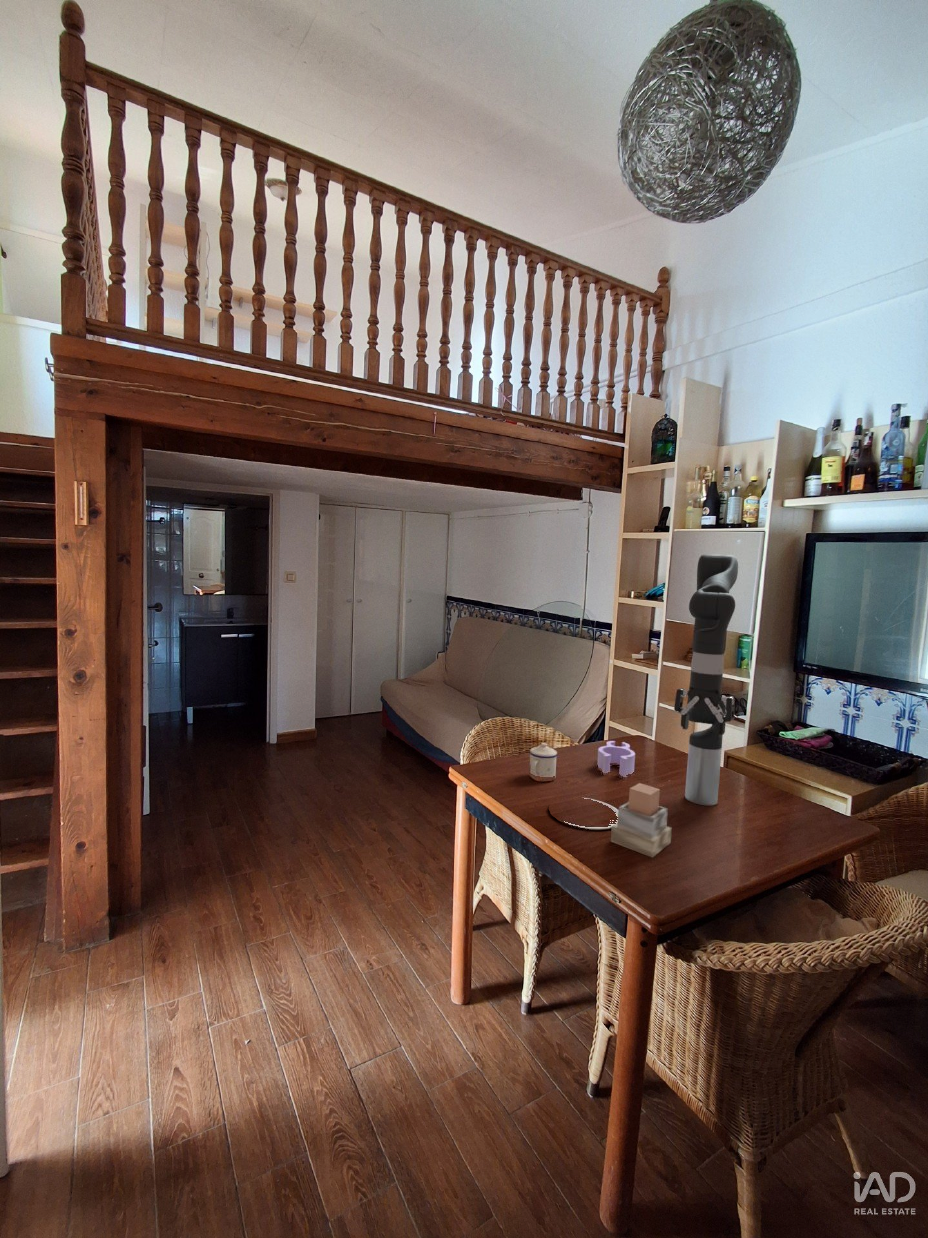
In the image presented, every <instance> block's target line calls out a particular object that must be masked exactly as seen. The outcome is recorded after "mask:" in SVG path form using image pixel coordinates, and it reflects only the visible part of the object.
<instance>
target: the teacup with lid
mask: <svg viewBox="0 0 928 1238" xmlns="http://www.w3.org/2000/svg"><path fill="white" fill-rule="evenodd" d="M557 756H558V751H557V750H556V749H553V748H551V747H550V746H548V744H547V742H542V743H540V745H538V746H534V747H532V748H531V749H530V750H529V766H528V767H529V770H528V772H529V771H530V773H531V774H533V775H535V776H540V777H553V776H555V777H556V771H557V770H556V767H557Z"/></svg>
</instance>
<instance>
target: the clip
mask: <svg viewBox="0 0 928 1238" xmlns="http://www.w3.org/2000/svg"><path fill="white" fill-rule="evenodd" d="M630 748H631V745H630V744H629V743H626V742H625V741H623V742H621V746H618V745H617V746H616V741H615V740H609V741H606V745H603V746H599V748H598V749H597V764H596V766H597V765H598V767H599V768H601V769H602V772H603V773H608V772H611V765H610V763H617V764H619V765H620V766H619V769H618V771H619V772H618V775H619V774H620V775H621V776H623V777H626V778H627V776H626V775H628V774H632V773H633V772H634V773H635V761H636V752H635V751H634V750H632V749H630ZM602 772H601V773H602Z"/></svg>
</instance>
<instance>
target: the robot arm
mask: <svg viewBox="0 0 928 1238" xmlns="http://www.w3.org/2000/svg"><path fill="white" fill-rule="evenodd" d="M697 561H698V562H697V566H696V567H697V569H696V591H695V592H694V593H693V594H692V596H691V597H690V600H689V604H688V610H689V613H690V614H691V616H692V617H693V618H694V625H693V635H692V647H691V649H692V650H691V651H692V654H691V655H692V656H691V664H690V678H689V679H690V680H689V687H688V689H685V688H682V687H681V688H678V689H676V693H675V698H674V699H675V700H674V708H673V710H674V711H675V712H678V713H679V714H680V715H681V717H680V726H681V728H682V730H684V731H686V730H688V729H689V724H690V723H689V722H691V723H692V722H693V723H700V724H707V725H711V726H710V727H708V728H705V729H704V730H699V731H695V732H694V731H693V732H692V733H690V735H689V739H688V743H689V744H688V755H687V768H686V777H685V778H686V779H685V791H684V797H685V799H686V800H687V801H689V802H691V803H694V804H697V805H701V806H714V805H717V804H718V799H719V798H718V797H719V787H720V786H719V785H720V774H721V761H722V760H721V759H722V748H723V735H725V733H726V723H727V722H732V721H734V720H735V699H736V698H735V697H734V696H724V695H722V690H723V689H722V687H723V686H722V685H723V675H724V673H723V672H724V661H725V660H724V655H725V653H726V648H727V635H728V633H727V631H728V627H729V624H730V622H731V620H732V617H733V615H734V612H735V609H736V600H735V598H734V596H732V594H730V591H731V589H732V588H733V586H734V585H735V584H736V582H737V579H738V572H739V562H738V559H737V557H736V556H734V555H731V554H702V555H700V557H699V558H698V560H697ZM686 697H687V700H686V705H685V707H683V704H684V700H685V699H684V698H686Z"/></svg>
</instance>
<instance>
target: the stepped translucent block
mask: <svg viewBox="0 0 928 1238" xmlns="http://www.w3.org/2000/svg"><path fill="white" fill-rule="evenodd" d="M628 806H629V801H627V802H626V803H623V804H622V805H620V806H618V810H619V811H618V823H616V824H615V825H613V826H612V828H611V832H610V842H611V843H614V844H616V845H618V846H621V847H623V848H627V849H630V850H632V851H635V852H638V853H640V854H642V855H645V856H647V857H650V858H652V859H653V858H654V857H656V855H658V854H659V853H660V852H661V851H663V849H665V848H666V847H667V846H669V845H670V844H671V843H672V831H673V830H672V829H673V827H671V826H667V824H668V813H669V812H668V809H669V808H667V807H663V806H661V805H659V809H658V812H657V813H656V814H654V815H653V816H651V817H650V816H647V815H644V814H641V813H638V812H635V811H632V810H629V809H628Z"/></svg>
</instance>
